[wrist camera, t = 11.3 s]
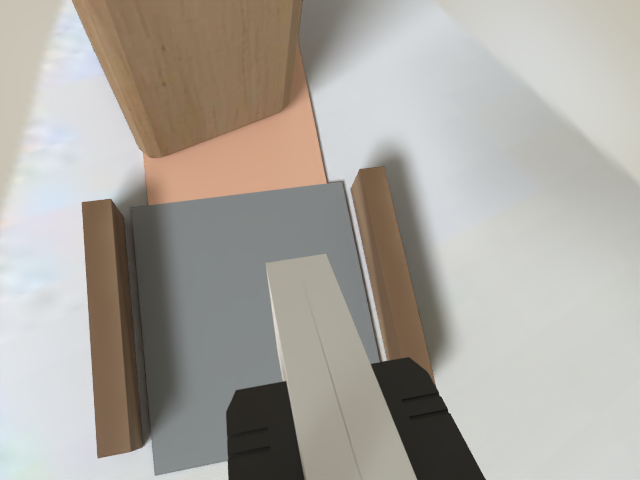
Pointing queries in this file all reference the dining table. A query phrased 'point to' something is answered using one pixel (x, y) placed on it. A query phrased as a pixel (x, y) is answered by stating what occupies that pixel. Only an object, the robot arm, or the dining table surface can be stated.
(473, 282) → the dining table surface
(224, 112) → the wooden block
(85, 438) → the dining table surface
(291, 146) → the tile
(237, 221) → the grey square panel
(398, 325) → the lane rails
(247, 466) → the robot arm
